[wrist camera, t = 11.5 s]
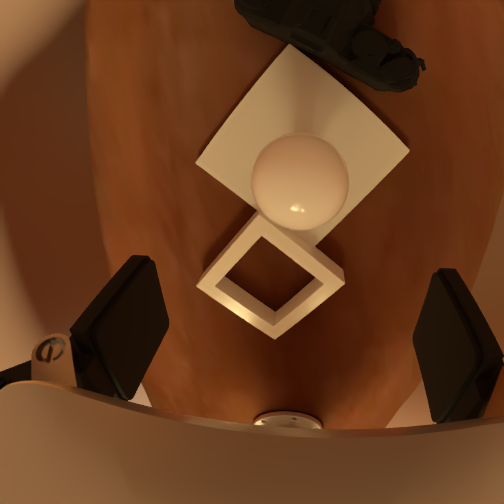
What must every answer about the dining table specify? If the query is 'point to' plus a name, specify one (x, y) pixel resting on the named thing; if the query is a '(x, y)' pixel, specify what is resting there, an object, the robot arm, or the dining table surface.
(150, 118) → the dining table surface
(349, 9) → the film camera
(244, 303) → the socket collar
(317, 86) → the felt mat
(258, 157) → the lightbulb
